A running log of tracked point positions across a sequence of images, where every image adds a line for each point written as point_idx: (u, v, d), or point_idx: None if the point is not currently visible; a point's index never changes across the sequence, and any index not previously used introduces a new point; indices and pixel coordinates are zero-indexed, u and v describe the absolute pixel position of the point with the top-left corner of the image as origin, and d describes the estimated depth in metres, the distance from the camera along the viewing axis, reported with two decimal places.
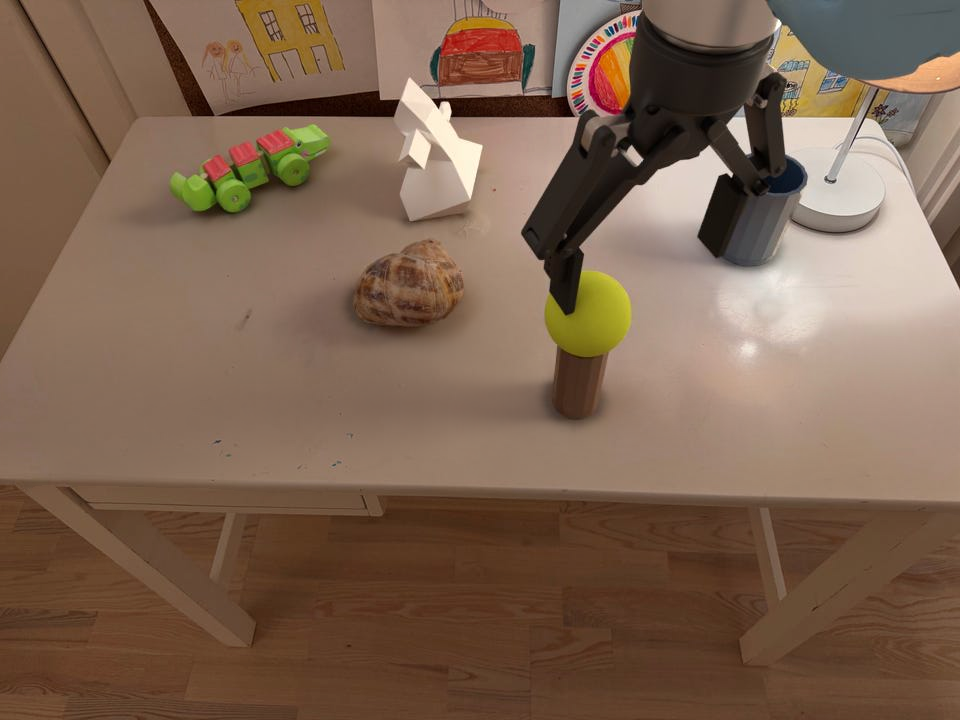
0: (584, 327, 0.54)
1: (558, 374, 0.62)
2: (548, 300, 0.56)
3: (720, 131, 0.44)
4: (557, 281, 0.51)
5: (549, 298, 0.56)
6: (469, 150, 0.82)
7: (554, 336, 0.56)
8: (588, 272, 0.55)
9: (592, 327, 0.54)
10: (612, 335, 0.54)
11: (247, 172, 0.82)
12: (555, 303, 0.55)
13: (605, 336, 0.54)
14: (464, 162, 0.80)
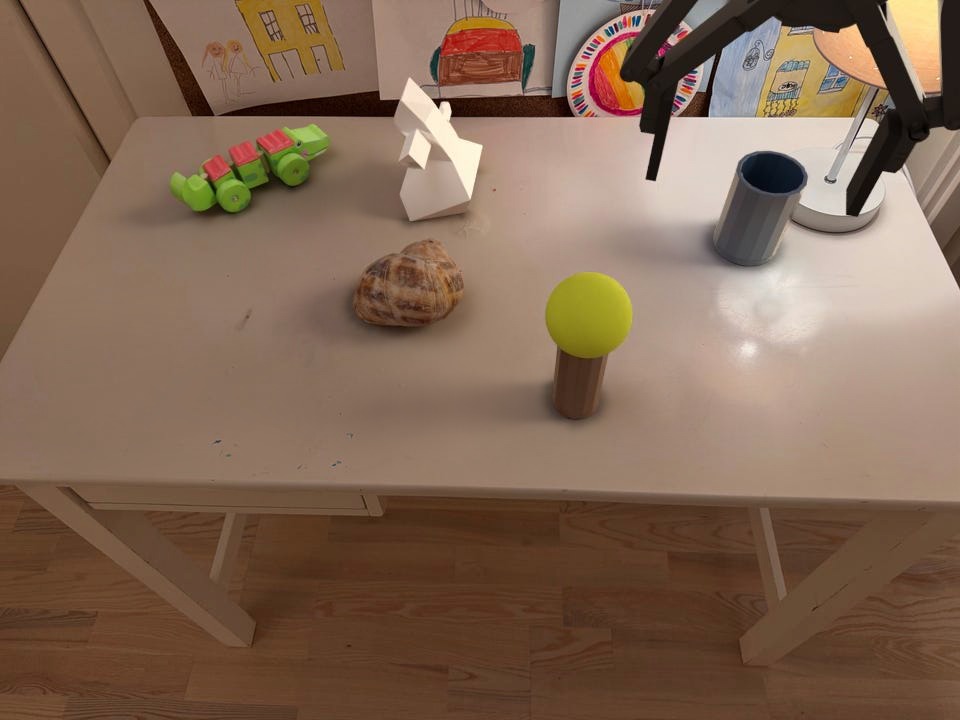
0: (583, 329, 0.54)
1: (558, 374, 0.62)
2: (549, 300, 0.56)
3: None
4: (644, 128, 0.48)
5: (550, 298, 0.56)
6: (469, 150, 0.82)
7: (554, 336, 0.56)
8: (591, 274, 0.55)
9: (592, 330, 0.54)
10: (612, 338, 0.54)
11: (247, 171, 0.82)
12: (556, 304, 0.55)
13: (604, 339, 0.54)
14: (464, 162, 0.80)
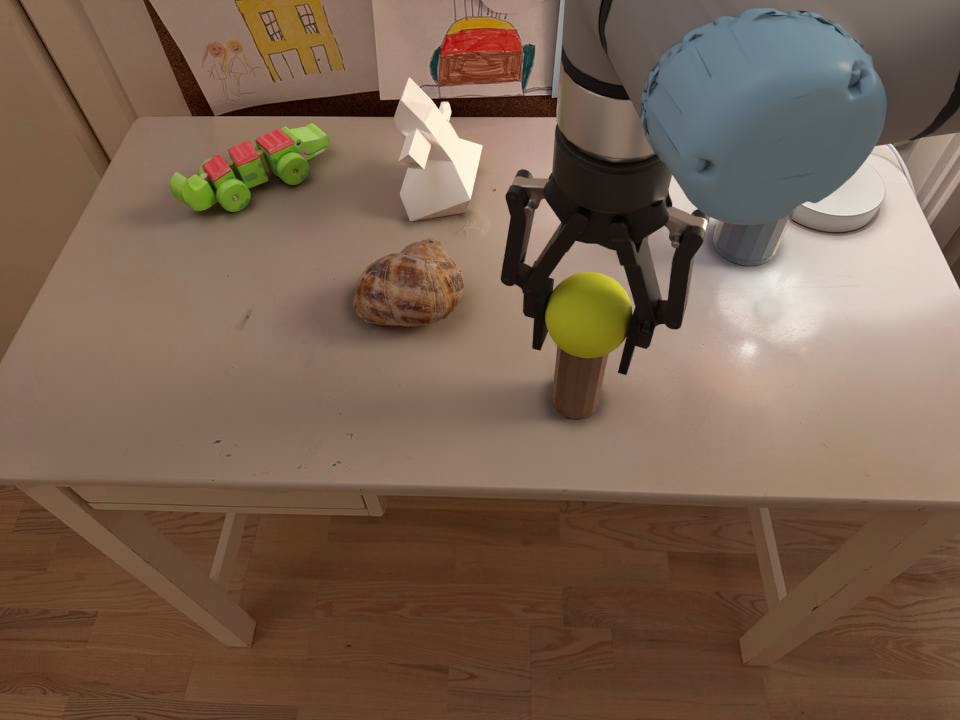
0: (583, 329, 0.54)
1: (558, 374, 0.62)
2: (549, 300, 0.56)
3: (622, 234, 0.46)
4: (527, 314, 0.58)
5: (550, 298, 0.56)
6: (469, 150, 0.82)
7: (554, 336, 0.56)
8: (591, 274, 0.55)
9: (592, 330, 0.54)
10: (612, 338, 0.54)
11: (247, 171, 0.82)
12: (556, 304, 0.55)
13: (604, 339, 0.54)
14: (464, 162, 0.80)
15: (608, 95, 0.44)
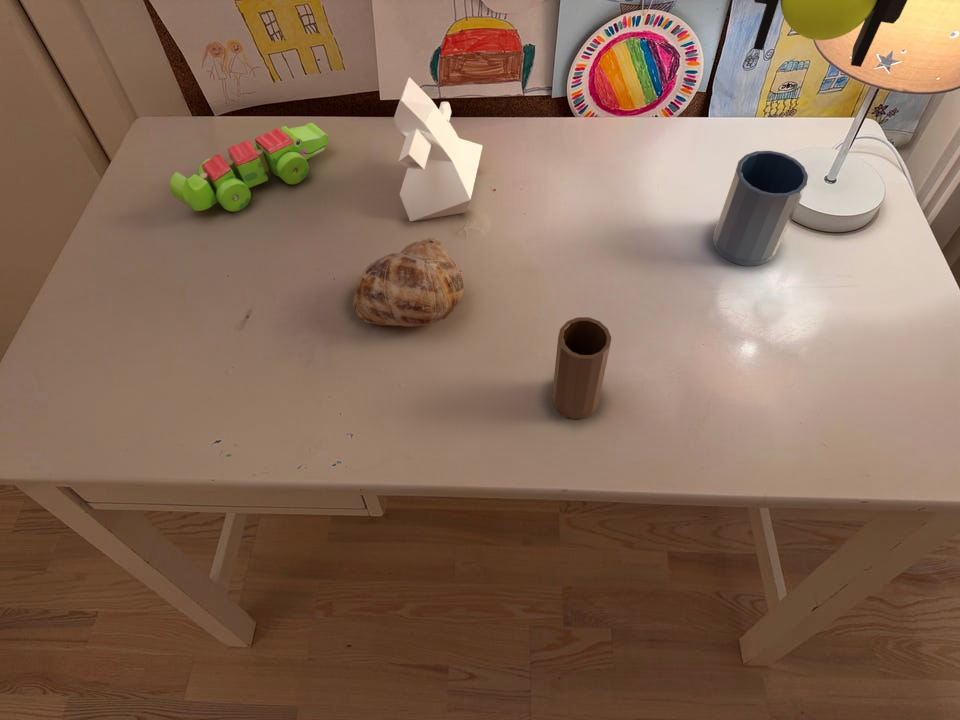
0: None
1: (558, 374, 0.62)
2: None
3: None
4: None
5: None
6: (469, 150, 0.82)
7: (798, 6, 0.52)
8: None
9: None
10: None
11: (247, 171, 0.83)
12: None
13: None
14: (464, 162, 0.80)
15: None
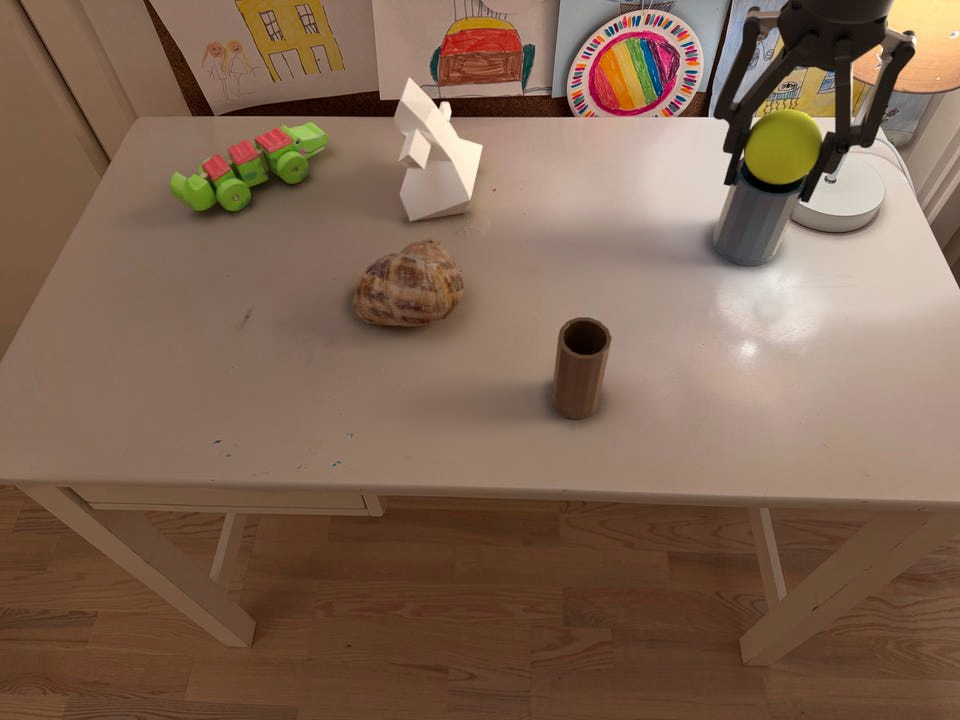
0: (787, 151, 0.65)
1: (558, 374, 0.62)
2: (752, 133, 0.67)
3: (846, 51, 0.57)
4: (726, 150, 0.70)
5: (753, 131, 0.67)
6: (469, 150, 0.82)
7: (756, 162, 0.67)
8: (788, 109, 0.66)
9: (794, 151, 0.65)
10: (809, 160, 0.66)
11: (247, 170, 0.83)
12: (761, 133, 0.66)
13: (803, 160, 0.65)
14: (464, 162, 0.80)
15: None
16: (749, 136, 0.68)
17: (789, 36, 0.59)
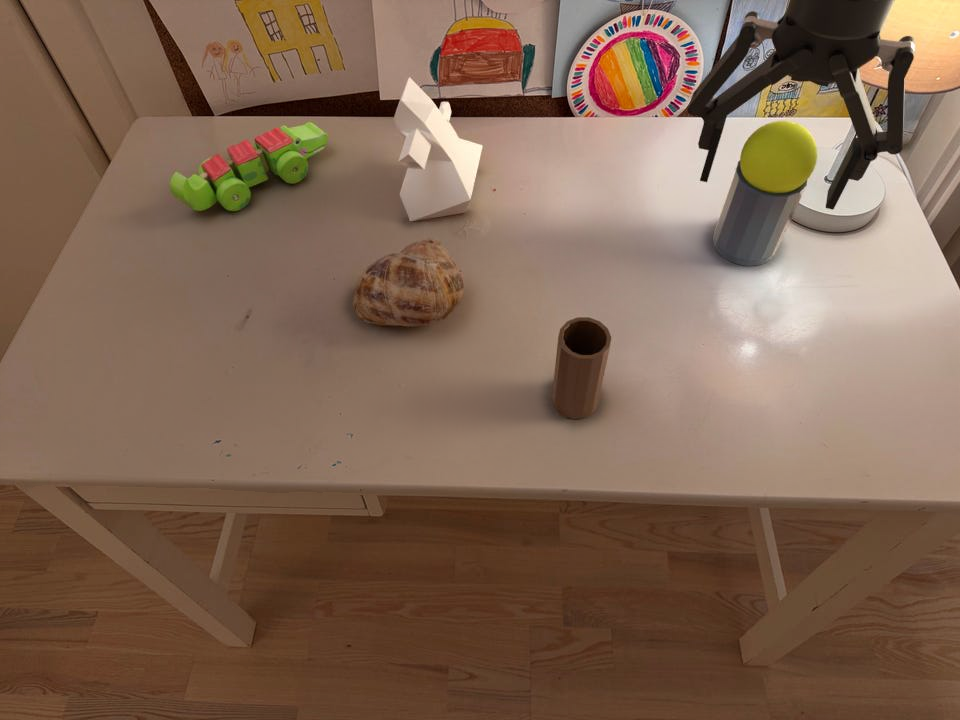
0: (782, 165, 0.66)
1: (558, 374, 0.62)
2: (747, 145, 0.68)
3: (840, 66, 0.58)
4: (701, 146, 0.70)
5: (749, 143, 0.68)
6: (469, 150, 0.82)
7: (752, 175, 0.68)
8: (784, 121, 0.67)
9: (789, 165, 0.66)
10: (803, 173, 0.67)
11: (247, 170, 0.83)
12: (756, 146, 0.67)
13: (797, 174, 0.66)
14: (464, 162, 0.80)
15: None
16: (745, 148, 0.68)
17: (784, 51, 0.60)
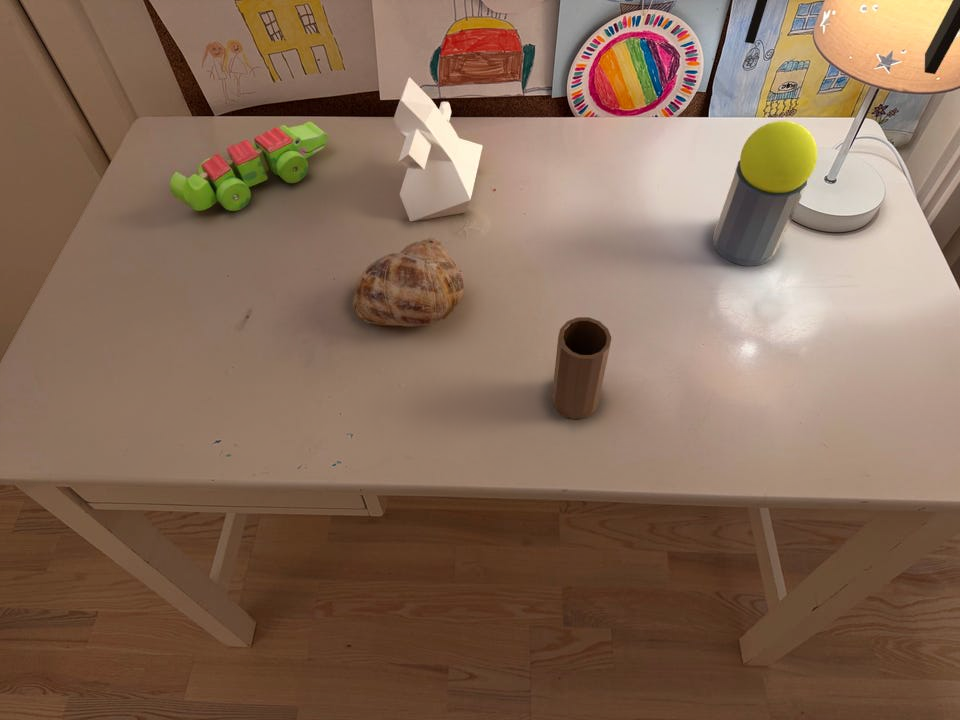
0: (782, 165, 0.66)
1: (558, 374, 0.62)
2: (747, 145, 0.68)
3: None
4: None
5: (749, 143, 0.68)
6: (469, 150, 0.82)
7: (752, 175, 0.68)
8: (784, 121, 0.67)
9: (789, 165, 0.66)
10: (803, 173, 0.67)
11: (247, 170, 0.83)
12: (756, 146, 0.67)
13: (797, 174, 0.66)
14: (464, 162, 0.80)
15: None
16: (745, 148, 0.68)
17: None
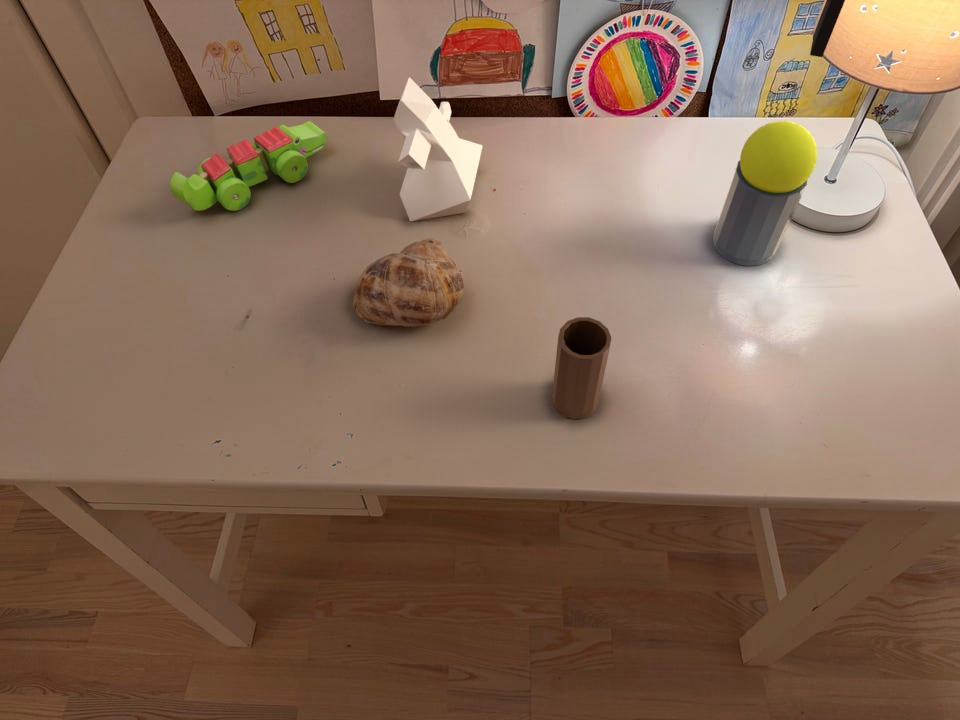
0: (782, 165, 0.66)
1: (558, 374, 0.62)
2: (747, 145, 0.68)
3: None
4: None
5: (749, 143, 0.68)
6: (469, 150, 0.82)
7: (752, 175, 0.68)
8: (784, 121, 0.67)
9: (789, 165, 0.66)
10: (803, 173, 0.67)
11: (247, 170, 0.83)
12: (756, 146, 0.67)
13: (797, 174, 0.66)
14: (464, 162, 0.80)
15: None
16: (745, 148, 0.68)
17: None
